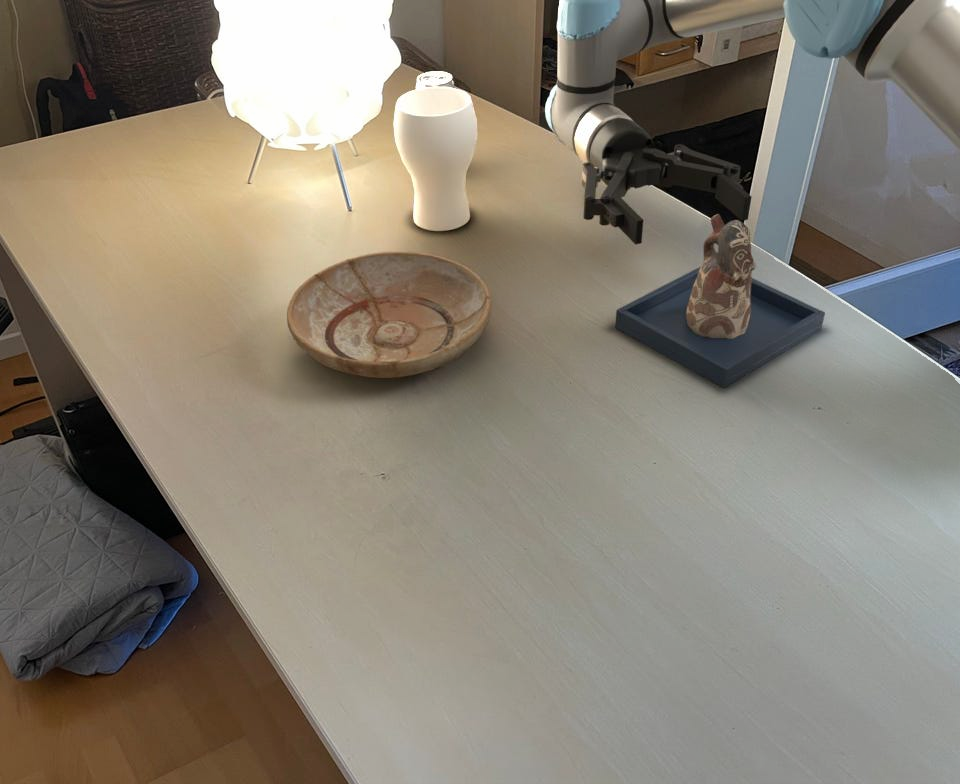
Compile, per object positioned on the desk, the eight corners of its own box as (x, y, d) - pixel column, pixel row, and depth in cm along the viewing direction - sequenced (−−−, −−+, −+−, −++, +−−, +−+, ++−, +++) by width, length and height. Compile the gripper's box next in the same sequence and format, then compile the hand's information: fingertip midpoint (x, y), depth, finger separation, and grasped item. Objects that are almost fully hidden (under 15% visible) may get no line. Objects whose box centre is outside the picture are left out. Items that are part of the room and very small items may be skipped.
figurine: (716, 346, 111) (732, 243, 102) (672, 320, 115) (684, 219, 106) (761, 324, 113) (781, 222, 104) (717, 299, 117) (732, 199, 108)
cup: (393, 233, 133) (380, 115, 122) (415, 197, 140) (405, 82, 129) (470, 239, 131) (464, 120, 120) (488, 203, 138) (484, 86, 127)
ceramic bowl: (259, 384, 111) (250, 344, 107) (340, 279, 126) (334, 241, 122) (455, 413, 106) (453, 373, 102) (515, 301, 120) (515, 262, 117)
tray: (821, 330, 114) (825, 312, 112) (723, 388, 107) (726, 369, 105) (711, 277, 122) (713, 259, 121) (614, 327, 116) (616, 309, 114)
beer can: (460, 158, 148) (455, 70, 139) (457, 174, 144) (451, 85, 135) (424, 158, 148) (417, 71, 139) (420, 174, 145) (412, 85, 136)
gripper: (699, 160, 131) (783, 230, 118) (523, 196, 126) (591, 274, 113) (706, 100, 126) (796, 166, 112) (523, 135, 121) (594, 209, 107)
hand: (694, 220), depth 113 cm, fingers open, 13 cm apart
